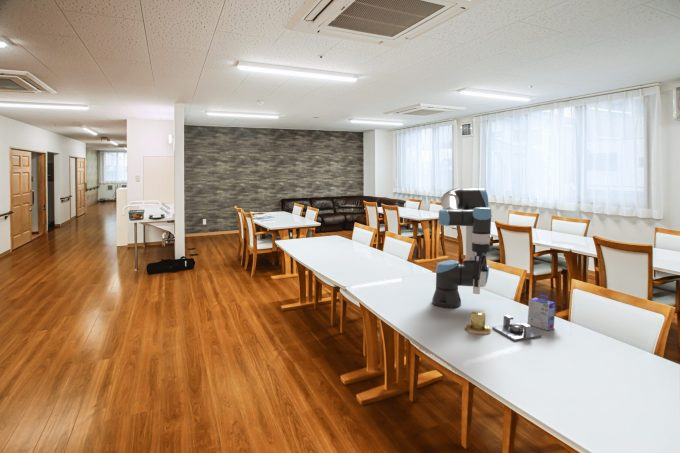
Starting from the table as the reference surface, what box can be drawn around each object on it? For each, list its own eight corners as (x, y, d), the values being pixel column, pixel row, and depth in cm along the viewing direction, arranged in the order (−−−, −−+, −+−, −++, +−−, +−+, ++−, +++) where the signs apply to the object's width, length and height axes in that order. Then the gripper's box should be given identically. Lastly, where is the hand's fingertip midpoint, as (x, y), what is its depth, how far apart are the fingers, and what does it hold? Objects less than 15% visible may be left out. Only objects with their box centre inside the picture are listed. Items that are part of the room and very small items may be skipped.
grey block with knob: (492, 328, 174) (492, 316, 173) (518, 325, 178) (518, 313, 177) (514, 341, 160) (514, 328, 160) (541, 337, 164) (542, 324, 163)
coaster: (460, 326, 177) (460, 325, 177) (480, 324, 180) (480, 322, 180) (474, 336, 166) (474, 334, 166) (496, 333, 169) (496, 331, 169)
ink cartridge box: (554, 328, 174) (556, 297, 172) (547, 331, 171) (549, 299, 169) (533, 321, 182) (535, 292, 180) (527, 324, 179) (528, 294, 177)
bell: (465, 328, 173) (465, 313, 172) (467, 324, 178) (468, 309, 177) (488, 333, 168) (489, 317, 167) (490, 328, 173) (491, 313, 172)
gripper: (484, 248, 155) (482, 298, 158) (494, 238, 177) (492, 283, 180) (465, 246, 159) (464, 296, 162) (477, 237, 180) (476, 281, 183)
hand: (479, 289), depth 171 cm, fingers open, 13 cm apart
